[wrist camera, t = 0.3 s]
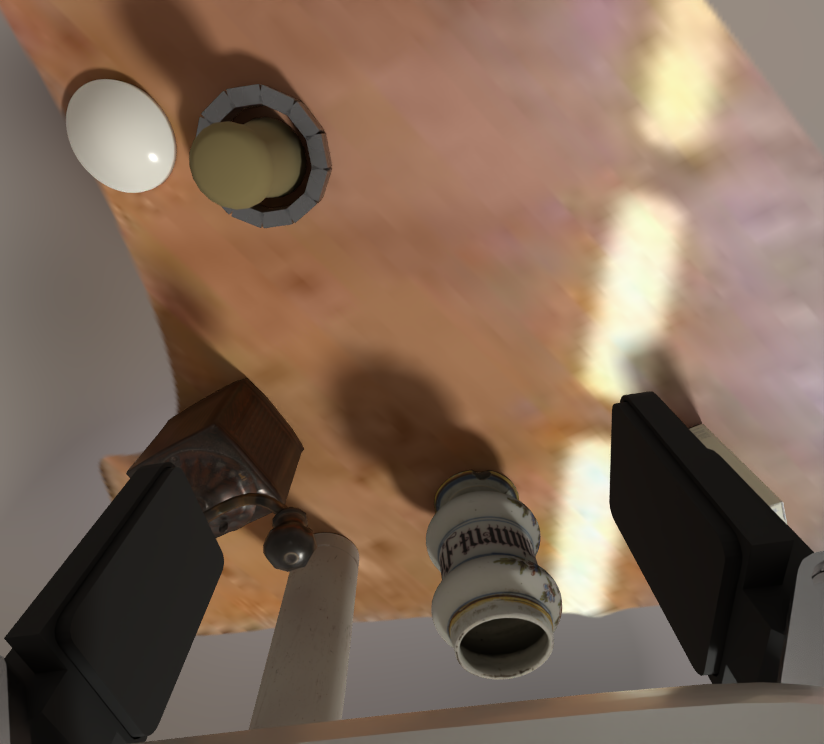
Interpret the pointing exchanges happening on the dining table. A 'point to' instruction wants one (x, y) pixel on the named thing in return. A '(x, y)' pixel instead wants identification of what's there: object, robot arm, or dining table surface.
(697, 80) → the dining table surface
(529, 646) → the apothecary jar
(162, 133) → the pebble
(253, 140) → the cork
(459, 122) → the dining table surface
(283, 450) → the pepper mill
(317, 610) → the thermos bottle
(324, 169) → the holder ring
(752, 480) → the skincare box
